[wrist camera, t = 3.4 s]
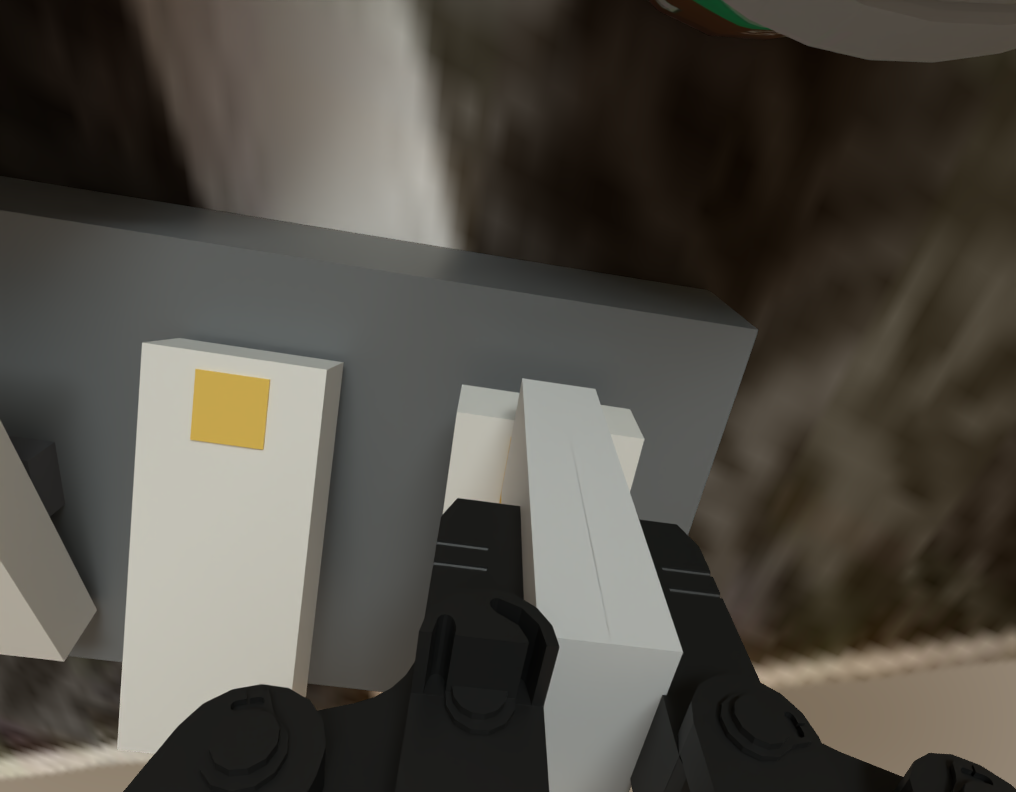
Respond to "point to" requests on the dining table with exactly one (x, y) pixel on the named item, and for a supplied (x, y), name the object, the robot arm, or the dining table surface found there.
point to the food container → (861, 25)
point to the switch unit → (364, 387)
